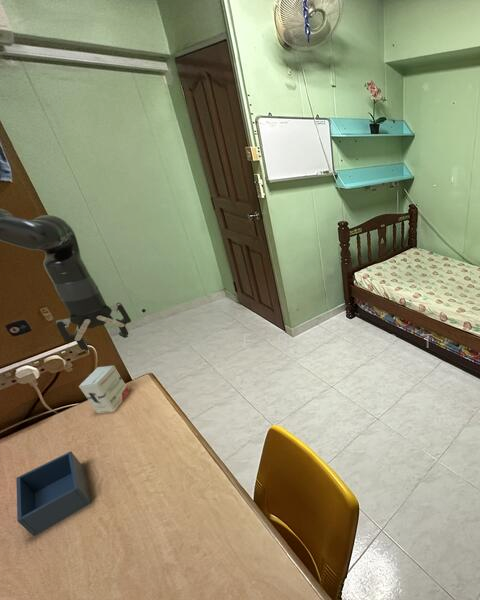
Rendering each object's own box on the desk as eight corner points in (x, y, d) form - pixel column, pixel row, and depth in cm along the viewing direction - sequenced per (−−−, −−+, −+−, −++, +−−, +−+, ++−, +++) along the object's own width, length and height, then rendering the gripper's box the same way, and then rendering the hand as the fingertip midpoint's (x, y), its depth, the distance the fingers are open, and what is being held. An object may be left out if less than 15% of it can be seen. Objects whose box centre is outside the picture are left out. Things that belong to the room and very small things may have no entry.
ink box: (113, 393, 102) (97, 365, 96) (130, 392, 103) (115, 364, 97) (96, 414, 95) (77, 385, 89) (114, 412, 95) (96, 384, 90)
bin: (34, 537, 66) (17, 521, 63) (32, 493, 74) (16, 477, 71) (91, 503, 72) (78, 487, 69) (83, 467, 80) (71, 450, 77)
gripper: (111, 281, 89) (134, 327, 97) (41, 297, 80) (71, 347, 88) (116, 289, 85) (139, 337, 93) (42, 308, 76) (74, 360, 83)
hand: (106, 342), depth 90 cm, fingers open, 8 cm apart
